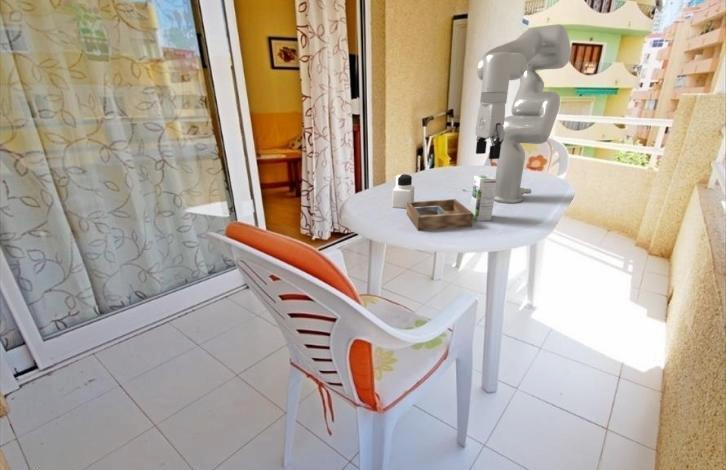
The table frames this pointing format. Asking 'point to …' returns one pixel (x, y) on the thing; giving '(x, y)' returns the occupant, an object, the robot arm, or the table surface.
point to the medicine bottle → (402, 191)
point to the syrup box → (483, 197)
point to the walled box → (439, 214)
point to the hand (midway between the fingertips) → (486, 156)
